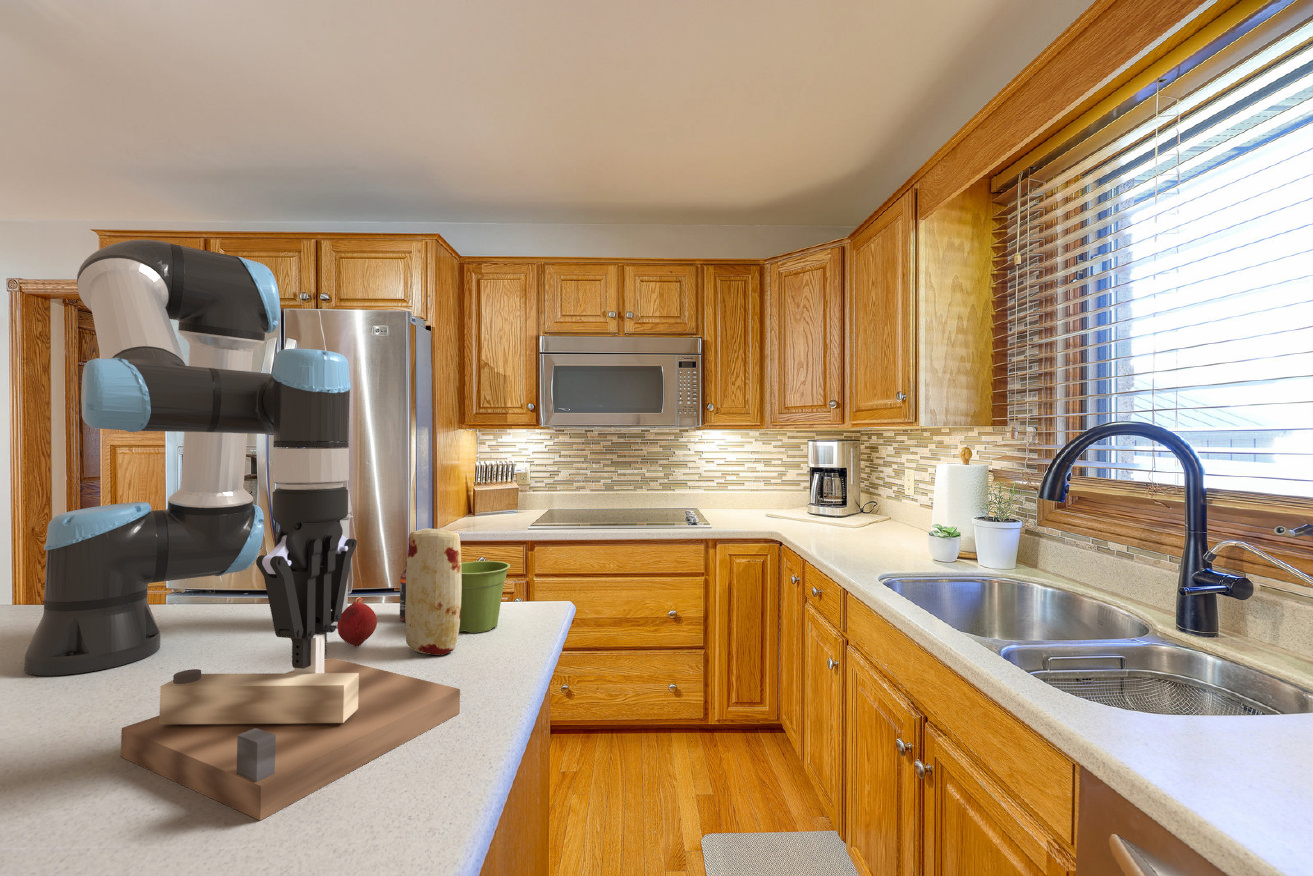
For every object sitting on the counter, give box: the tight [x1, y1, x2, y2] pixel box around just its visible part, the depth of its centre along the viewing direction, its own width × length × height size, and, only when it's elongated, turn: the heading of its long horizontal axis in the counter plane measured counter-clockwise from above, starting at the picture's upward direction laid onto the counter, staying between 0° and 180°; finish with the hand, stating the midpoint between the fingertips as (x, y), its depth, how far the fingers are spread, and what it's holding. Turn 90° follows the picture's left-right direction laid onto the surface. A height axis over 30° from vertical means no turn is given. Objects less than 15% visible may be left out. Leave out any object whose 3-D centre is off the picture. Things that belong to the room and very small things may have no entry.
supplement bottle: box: [399, 560, 407, 623], centre depth 114 cm, size 6×6×11 cm
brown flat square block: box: [120, 657, 461, 821], centre depth 68 cm, size 24×24×6 cm
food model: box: [405, 527, 462, 656], centre depth 96 cm, size 10×7×20 cm
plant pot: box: [459, 560, 511, 634], centre depth 109 cm, size 12×12×11 cm
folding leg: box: [158, 668, 359, 724], centre depth 65 cm, size 19×4×5 cm, turn 93°
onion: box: [336, 596, 378, 648], centre depth 98 cm, size 6×6×8 cm
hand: (309, 692), depth 68 cm, fingers closed
